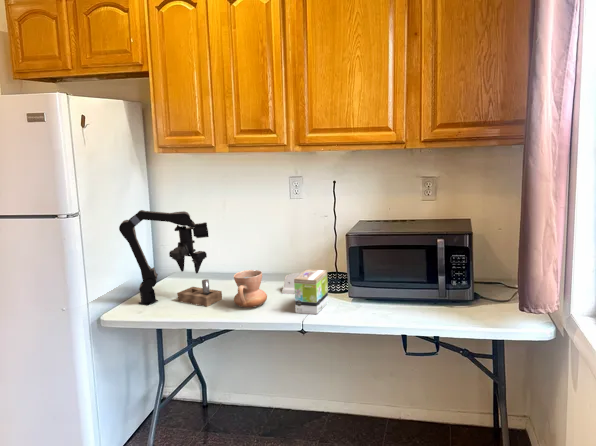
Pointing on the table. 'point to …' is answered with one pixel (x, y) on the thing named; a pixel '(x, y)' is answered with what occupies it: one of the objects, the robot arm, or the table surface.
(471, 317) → the table surface
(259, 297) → the ceramic jug
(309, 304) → the tea box
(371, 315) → the table surface
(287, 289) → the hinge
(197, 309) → the table surface
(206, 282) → the peg
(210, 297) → the hole block
